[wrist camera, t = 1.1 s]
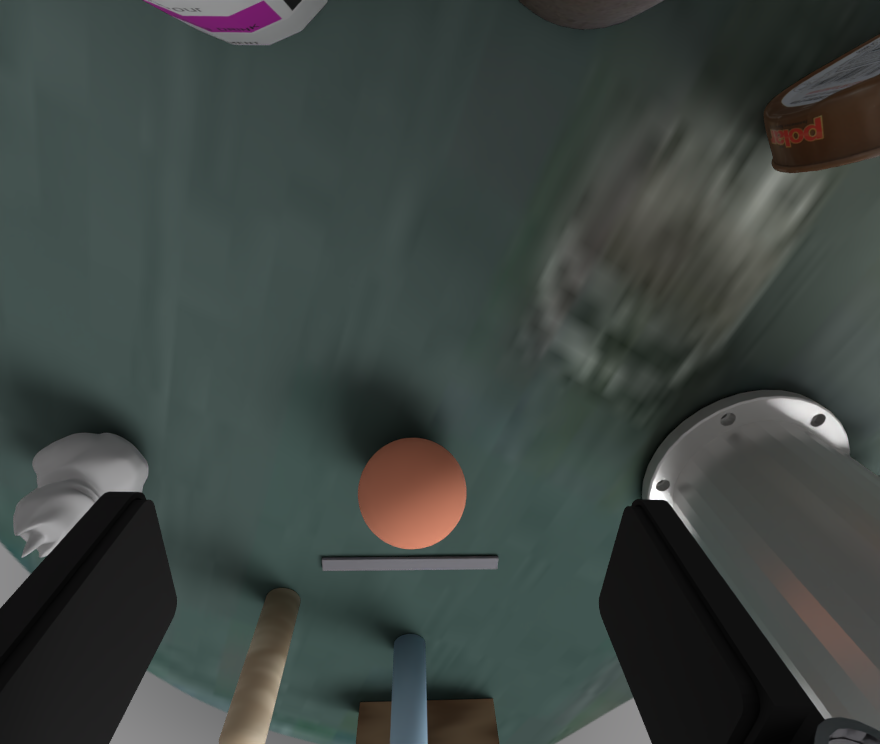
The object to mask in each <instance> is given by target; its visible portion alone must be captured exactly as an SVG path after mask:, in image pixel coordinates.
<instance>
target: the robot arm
mask: <svg viewBox="0 0 880 744" xmlns="http://www.w3.org/2000/svg"><path fill="white" fill-rule="evenodd" d="M176 606H177V597H176V592H175V588H174V584H173V580H172V576H171V572H170V568H169V563H168V559H167V555H166V551H165V547H164V543H163V539H162V535H161V530H160V526H159V522H158V518H157V514H156V510H155V506H154V503H153V502H152V501H151V500H146V498H145V495H144V494H143V493H141V492H112V491H109V492H106V493H104V494H103V495H102V496H101V497H100V498H99V499H98V500H97V501H96V502H95V503H94V504H93V505H92V507H91V508H90V509H89V510H88V511H87V512H86V513H85V514H84V515H83V517H82V518H81V519H80V520H79V521H78V522H77V523H76V524H75V526H74V527H73V528H72V529H71V530H70V531H69V532H68V533H67V534H66V536H65V537H64V538H63V539H62V540H61V541H60V542H59V543H58V545H57V546H56V547H55V548H54V549H53V550H52V551H51V552H50V553H49V555H48V556H47V557H46V558H45V559H44V560H43V561H42V562H41V564H40V565H39V566H38V567H37V568H36V569H35V570H34V571H33V572H32V574H31V575H30V576H29V577H28V578H27V579H26V580H25V581H24V583H23V584H22V585H21V586H20V587H19V588H18V589H17V590H16V592H15V593H14V594H13V595H12V596H11V597H10V598H9V599H8V600H7V602H6V603H5V604H4V605H3V606H2V607H1V608H0V744H109V743H110V741H111V739H112V737H113V735H114V733H115V731H116V729H117V727H118V725H119V723H120V721H121V719H122V717H123V715H124V713H125V711H126V709H127V707H128V705H129V703H130V701H131V700H132V697H133V695H134V694H135V691H136V690H137V688H138V686H139V684H140V682H141V680H142V678H143V676H144V674H145V672H146V670H147V668H148V666H149V664H150V662H151V660H152V658H153V656H154V654H155V653H156V651H157V649H158V647H159V645H160V643H161V641H162V639H163V637H164V635H165V633H166V631H167V629H168V627H169V625H170V623H171V621H172V619H173V617H174V614H175V611H176ZM599 609H600V614H601V617H602V620H603V622H604V625H605V627H606V630H607V632H608V635H609V637H610V640H611V642H612V645H613V647H614V650H615V652H616V655H617V657H618V660H619V662H620V665H621V667H622V670H623V672H624V675H625V677H626V680H627V682H628V685H629V687H630V690H631V692H632V695H633V697H634V700H635V702H636V705H637V707H638V710H639V712H640V715H641V717H642V720H643V722H644V725H645V727H646V730H647V732H648V735H649V737H650V740H651V742H652V744H880V476H877V475H876V474H874V473H873V472H871V471H870V470H869V469H867V468H866V467H864V466H863V465H862V464H860V463H859V462H857V461H856V460H854V459H853V458H852V457H850V446H849V441H848V435H847V433H846V431H845V429H844V427H843V425H842V423H841V422H840V421H839V420H838V419H837V418H836V417H835V416H834V414H833V413H832V412H831V411H829V410H828V409H826V408H825V407H823V406H822V405H820V404H819V403H817V402H815V401H814V400H812V399H810V398H807V397H805V396H803V395H801V394H798V393H793V392H788V391H783V390H757V391H751V392H745V393H740V394H737V395H734V396H730V397H727V398H724V399H721V400H719V401H717V402H715V403H713V404H711V405H709V406H707V407H704V408H702V409H701V410H699V411H698V412H696V413H695V414H693V415H692V416H690V417H689V418H687V419H686V420H684V421H683V422H682V423H681V424H680V425H679V426H678V427H677V428H675V429H674V430H673V431H672V432H671V433H670V434H669V435H668V436H667V437H666V439H665V440H664V441H663V442H662V444H661V445H660V446H659V447H658V449H657V450H656V452H655V454H654V455H653V457H652V459H651V461H650V463H649V465H648V467H647V470H646V473H645V476H644V480H643V488H642V499H637V500H635V501H634V502H633V503H632V506H628V507H626V508H625V510H624V512H623V516H622V519H621V523H620V526H619V530H618V533H617V537H616V540H615V544H614V547H613V551H612V554H611V558H610V562H609V565H608V569H607V572H606V576H605V579H604V583H603V586H602V590H601V593H600V597H599Z"/></svg>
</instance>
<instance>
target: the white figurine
mask: <svg viewBox="0 0 880 744" xmlns="http://www.w3.org/2000/svg"><path fill="white" fill-rule="evenodd" d="M33 469H34V471H35V472H36V474H37V484H38V487H37V488H36V489H35V490H33V491H32V492H31V493H29V494H28V495H27V496H25V497H24V498H23V499H21V500H20V501H19V503H18V504H17V506H16V511H15V513H14V517H13V522H14V533H15V535H16V536H18V535H20V536H21V537H22V538H23V539H24V540H25V541H26V542H27V543H26V545H25V548H24V551H23V554H22V557H24V556H26V555H28V554H29V553H31V552H32V551H33V550H35V549H37V550H38V551H39V557H44V556H47V555H49V553H50V552H51V551H52V550H53V549H54V548H55V547H56V546H57V545H58V543H59V542H60V541H61V540H62V539H63V538H64V537H65V536H66V534H67V533H68V532H69V531H70V530H71V529H72V528H73V527H74V526H75V524H76V523H77V522H78V521H79V520H80V519H81V518H82V517H83V515H84V514H85V513H86V512H87V511H88V510H89V509H90V508H91V507H92V505H93V504H94V503H95V502H96V501H97V500H98V499H99V498H100V497H101V496H102V495H103V494H104V493H106V492H109V491H112V492H141V493H142V490H143V485H144V483H145V481H146V479H147V477H148V463H147V461H146V459H145V458H144V457H143V455H142V454H141V453H140V452H139V451H138V449H137V448H136V447H135V446H134V445H133V444H131V443H130V442H129V441H127V440H126V439H124V438H122V437H120V436H118V435H115V434H112V433H101V434H94V433H76V434H72V435H69V436H66V437H64V438H62V439H60V440H57V441H55V442H53V443H51V444H50V445H48V446H47V447H45V448H43V449H42V450H40V451H39V452H38V453H37V454H36V456H35V457H34V459H33Z"/></svg>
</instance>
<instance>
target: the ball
mask: <svg viewBox="0 0 880 744" xmlns="http://www.w3.org/2000/svg"><path fill="white" fill-rule="evenodd" d="M358 500H359V507H360V510H361V513H362V516H363V518H364V520H365V522H366V524H367V525H368V527H369V528H370V530H371V531H372V532H373V533H374V534H375V535H376V536H377V537H379V538H380V539H381V540H383V541H384V542H386V543H388V544H390V545H393V546H395V547H399V548H404V549H419V548H424V547H428V546H431V545H433V544H435V543H437V542H439V541H440V540H442V539H443V538H445V537H446V536H447V535H448V534H449V533H450V532H451V531H452V530H453V529H454V528H455V526H456V525H457V523H458V522H459V520H460V518H461V516H462V513H463V510H464V507H465V502H466V483H465V478H464V475H463V472H462V470H461V468H460V466H459V464H458V462H457V461H456V459H455V458H454V457H453V456H452V454H451V453H450V452H449V451H448V450H446V449H445V448H444V447H442V446H441V445H439V444H437V443H435V442H433V441H430V440H427V439H422V438H404V439H399V440H396V441H393V442H391V443H389V444H387V445H385V446H384V447H382V448H381V449H379V450H378V451H377V452H376V453H375V454H374V455H373V456H372V457H371V459H370V460H369V461H368V463H367V464H366V466H365V468H364V470H363V472H362V475H361V478H360V482H359V488H358Z"/></svg>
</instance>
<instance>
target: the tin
mask: <svg viewBox="0 0 880 744" xmlns="http://www.w3.org/2000/svg"><path fill="white" fill-rule="evenodd" d="M764 124H765V129H766V133H767V137H768V140H769V144H770V148H771V151H772V155H773V159H772V166H773V168H774V169H775V170H777V171H780V172H786V173H799V172H809V171H817V170H823V169H828V168H832V167H838V166H842V165H846V164H850V163H854V162H858V161H862V160H865V159H870V158H874V157H877V156H880V34H879V35H877V36H876V37H874V38H872V39H870V40H868V41H867V42H865V43H863V44H861V45H860V46H858V47H856V48H854V49H853V50H851V51H849V52H847V53H846V54H844V55H842V56H840V57H839V58H837V59H835V60H833V61H832V62H830V63H828V64H826V65H825V66H823V67H821V68H819V69H817V70H816V71H814V72H812V73H810V74H809V75H807V76H806V77H804V78H802V79H801V80H799V81H798V82H796V83H794V84H793V85H791V86H790V87H788V88H787V89H785V90H784V91H782V92H781V93H780V94H778V95H777V96H776V97H774V98H773V99H772V100H771V101H770V102H769V103H768V105H767V106H766V108H765V110H764Z"/></svg>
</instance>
